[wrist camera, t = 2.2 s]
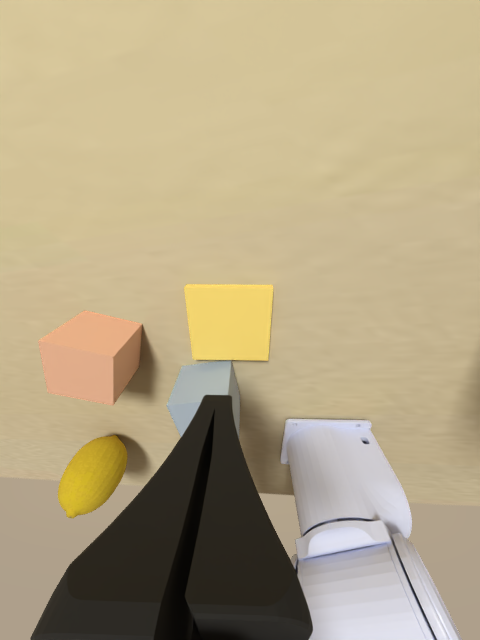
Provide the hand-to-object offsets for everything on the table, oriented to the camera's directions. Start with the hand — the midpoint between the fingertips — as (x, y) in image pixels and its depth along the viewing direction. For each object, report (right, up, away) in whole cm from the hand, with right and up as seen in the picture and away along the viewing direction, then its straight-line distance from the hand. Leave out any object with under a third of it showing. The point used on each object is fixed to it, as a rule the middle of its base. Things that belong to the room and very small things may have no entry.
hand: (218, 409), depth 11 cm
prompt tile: (0, +4, +8) cm, 9 cm away
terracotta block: (-11, +3, +10) cm, 15 cm away
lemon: (-14, -10, +16) cm, 24 cm away
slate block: (-2, -2, +12) cm, 12 cm away
